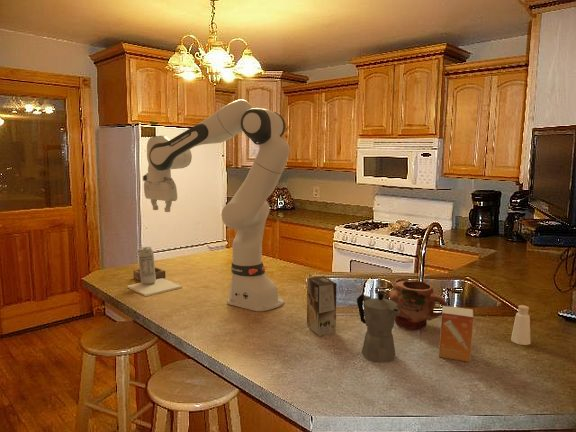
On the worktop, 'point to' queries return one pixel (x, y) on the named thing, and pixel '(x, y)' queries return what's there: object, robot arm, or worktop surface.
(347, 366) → the worktop surface
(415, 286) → the decorative planter
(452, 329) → the small box
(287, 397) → the worktop surface
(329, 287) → the coffee box
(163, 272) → the holder
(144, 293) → the tile
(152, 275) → the energy drink can
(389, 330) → the coffeepot
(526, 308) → the salt shaker
